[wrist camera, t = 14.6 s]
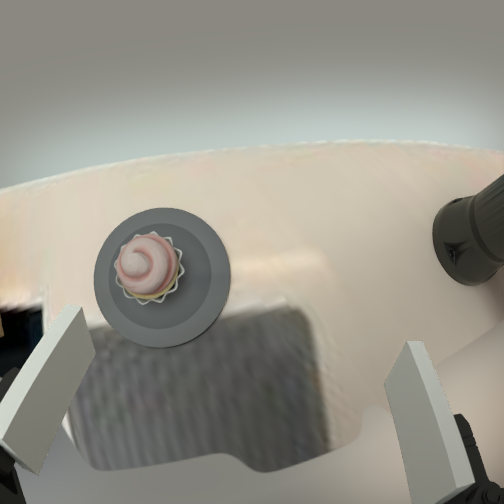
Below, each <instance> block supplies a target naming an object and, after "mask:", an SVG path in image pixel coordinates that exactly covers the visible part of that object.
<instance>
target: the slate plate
mask: <svg viewBox="0 0 504 504" xmlns="http://www.w3.org/2000/svg"><path fill="white" fill-rule="evenodd" d="M153 231H154V232H156V233H157V234H158V235H159V236H161V237H171V239H172V243H173V247H175V248H177V249H179V250H181V251H182V256H181V259H180V264H181V265H182V266H183V268H184V273H183V274H182V275H181V276H180V277H179V280H178V286H177V289H176V290H175V291H173V292H171V293H170V294H168V295H166V296H165V298H164V300H163V301H162V303H159V302H156V301H153V300H151V301H149V302H148V303H147V304H144V305H142V304H140V303H139V302H138V301H137V300H136V298H128V297H126V296H125V294H124V291H123V288H122V287H120V286H119V285H118V284H117V283H116V276H117V271H116V269H115V267H114V263H115V261H116V260H117V259H118V256H119V254H120V250H121V247H122V246H123V245H126V244H127V243H128V242H130V241H131V240H132V239H133V237H134V236H135V235H145V234H149V233H151V232H153ZM229 286H230V267H229V262H228V257H227V253H226V251H225V248H224V246H223V244H222V242H221V240H220V238H219V237H218V235H217V234H216V233H215V231H214V230H213V229H212V228H211V227H210V226H209V225H208V224H207V223H206V222H204V221H203V220H202V219H200V218H199V217H197V216H195V215H194V214H191V213H189V212H187V211H183V210H180V209H174V208H155V209H150V210H145V211H143V212H140V213H137V214H135V215H133V216H131V217H129V218H128V219H126V220H125V221H124V222H122V223H121V224H120V225H119V226H117V227H116V228H115V229H114V230H113V232H112V233H111V234H110V235H109V236H108V238H107V239H106V241H105V242H104V244H103V246H102V248H101V250H100V252H99V255H98V257H97V261H96V265H95V271H94V290H95V296H96V300H97V303H98V305H99V308H100V310H101V312H102V314H103V316H104V318H105V319H106V320H107V322H108V323H109V324H110V325H111V327H112V328H113V329H114V330H115V331H117V332H118V333H119V334H120V335H122V336H123V337H125V338H126V339H128V340H130V341H132V342H134V343H137V344H140V345H144V346H148V347H172V346H177V345H180V344H183V343H186V342H188V341H190V340H192V339H194V338H196V337H197V336H199V335H200V334H202V333H203V332H204V331H205V330H207V329H208V328H209V327H210V326H211V325H212V323H213V322H214V321H215V320H216V318H217V317H218V315H219V314H220V312H221V310H222V308H223V306H224V304H225V302H226V299H227V295H228V291H229Z"/></svg>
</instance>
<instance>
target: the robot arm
mask: <svg viewBox="0 0 504 504" xmlns="http://www.w3.org/2000/svg"><path fill="white" fill-rule="evenodd" d="M433 242H434V247H435V251H436V254H437V256H438V259H439V261H440V263H441V264H442V266H443V268H444V269H445V270H446V272H447V273H448V274H449V275H450V276H451V277H452V278H453V279H455V280H456V281H458V282H460V283H462V284H465V285H477V284H480V283H483V282H485V281H487V280H489V279H490V278H491V277H492V276H493V275H494V274H495V273H496V272H497V270H498V269H499V268H501V267H502V266H503V265H504V174H503V175H502V176H500V177H499V178H498V179H497V180H495V181H494V182H493V183H491V184H490V185H489V186H487V187H486V188H485V189H483V190H482V191H481V192H479V193H478V194H477V195H474V196H469V197H464V198H458V199H455V200H452V201H450V202H449V203H448V204H446V205H445V206H444V207H443V208H442V209H441V210H440V211H439V212H438V214H437V216H436V218H435V221H434V225H433ZM95 354H96V353H95V350H94V347H93V344H92V340H91V337H90V334H89V331H88V327H87V324H86V320H85V317H84V313H83V309H82V307H80V306H76V305H71V304H66V306H65V307H64V308H63V310H62V311H61V312H60V314H59V315H58V316H57V318H56V319H55V321H54V322H53V323H52V325H51V326H50V328H49V329H48V330H47V332H46V333H45V335H44V336H43V337H42V339H41V340H40V342H39V343H38V345H37V346H36V348H35V349H34V351H33V352H32V354H31V355H30V357H29V358H28V360H27V361H26V363H25V364H24V366H23V367H22V369H21V370H20V369H18V368H15V367H14V368H13V369H12V370H10V371H9V372H8V373H7V374H5V375H4V377H3V379H2V380H1V382H0V504H26V501H25V498H24V495H23V492H22V489H21V486H20V482H19V479H18V476H17V472H16V470H15V467H14V463H15V461H16V462H17V463H18V464H19V465H20V466H21V467H22V468H24V469H26V470H28V471H30V472H32V473H34V474H36V475H39V473H40V471H41V468H42V466H43V463H44V461H45V458H46V456H47V454H48V452H49V449H50V447H51V445H52V442H53V440H54V438H55V436H56V433H57V431H58V429H59V427H60V425H61V422H62V420H63V418H64V416H65V414H66V412H67V410H68V407H69V405H70V403H71V401H72V399H73V397H74V395H75V393H76V391H77V389H78V387H79V385H80V383H81V381H82V379H83V377H84V375H85V373H86V371H87V369H88V367H89V365H90V363H91V361H92V360H93V358H94V356H95ZM384 386H385V389H386V393H387V397H388V400H389V404H390V408H391V412H392V416H393V419H394V424H395V427H396V431H397V435H398V440H399V444H400V449H401V453H402V457H403V462H404V466H405V471H406V476H407V481H408V486H409V491H410V497H411V501H412V504H504V488H500V486H499V485H498V484H496V483H495V482H491V481H489V479H488V477H487V475H486V471H485V468H484V465H483V462H482V459H481V456H480V453H479V450H478V447H477V446H476V441H475V438H474V437H473V433H472V430H471V427H470V425H469V423H468V422H467V420H466V419H465V418H464V417H463V415H462V414H456V415H453V413H452V411H451V408H450V405H449V403H448V400H447V398H446V395H445V393H444V390H443V388H442V385H441V383H440V380H439V378H438V376H437V373H436V371H435V368H434V366H433V364H432V361H431V359H430V357H429V354H428V352H427V350H426V348H425V346H424V343H423V341H407V342H406V344H405V346H404V348H403V350H402V352H401V354H400V356H399V357H398V359H397V361H396V363H395V365H394V367H393V369H392V370H391V372H390V374H389V376H388V378H387V379H386V381H385V383H384Z"/></svg>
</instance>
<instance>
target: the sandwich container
mask: <svg viewBox="0 0 504 504" xmlns="http://www.w3.org/2000/svg"><path fill="white" fill-rule="evenodd" d="M2 336H4V333H3V328H2V323H1V317H0V337H2Z"/></svg>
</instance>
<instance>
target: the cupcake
mask: <svg viewBox="0 0 504 504" xmlns="http://www.w3.org/2000/svg"><path fill="white" fill-rule="evenodd" d="M181 256H182V251H181V250H179V249H177V248H175V247H173V243H172V239H171V237H161V236H159V235H158V234H157V233H156V232H154V231H153V232H151V233H149V234H145V235H135V236H134V237H133V239H132V240H131V241H130V242H128V243H127V244H126V245H123V246H122V247H121V250H120V254H119V256H118V259H117V260H116V261H115V263H114V267H115V269H116V271H117V276H116V283H117V284H118V285H119V286H120V287H122V288H123V291H124V294H125V296H126V297H128V298H136V300H137V301H138V302H139V303H140V304H142V305H144V304H147V303H148V302H149V301H151V300H153V301H156V302H159V303H162V301H163V300H164V298H165V296H166V295H168V294H170V293H171V292H173V291H175V290H176V289H177V286H178V280H179V277H180V276H181V275H182V274H183V273H184V268H183V266H182V265H181V264H180V259H181Z"/></svg>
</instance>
